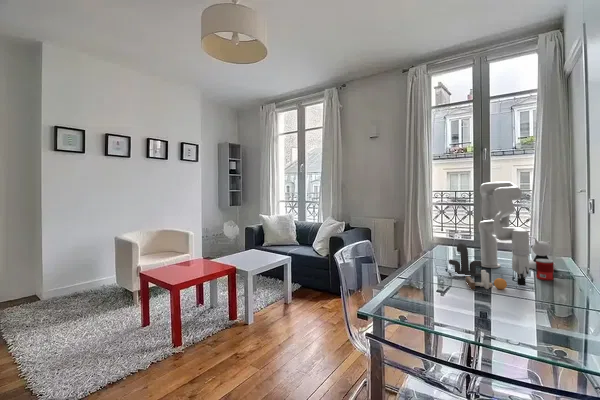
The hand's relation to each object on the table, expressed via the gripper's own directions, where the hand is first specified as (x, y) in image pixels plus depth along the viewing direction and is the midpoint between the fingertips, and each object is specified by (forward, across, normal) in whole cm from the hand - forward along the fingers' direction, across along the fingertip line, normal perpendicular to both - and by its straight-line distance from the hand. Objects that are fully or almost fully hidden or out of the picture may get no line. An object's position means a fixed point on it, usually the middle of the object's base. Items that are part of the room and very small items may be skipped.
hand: (521, 285), depth 161 cm
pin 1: (+2, -2, -18) cm, 18 cm away
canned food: (+2, -17, +18) cm, 25 cm away
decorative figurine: (+2, -38, +25) cm, 46 cm away
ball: (-2, +3, -11) cm, 12 cm away
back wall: (+2, 0, -25) cm, 25 cm away
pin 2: (+2, +3, -18) cm, 18 cm away
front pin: (0, 0, -14) cm, 14 cm away
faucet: (+2, -25, -23) cm, 34 cm away
